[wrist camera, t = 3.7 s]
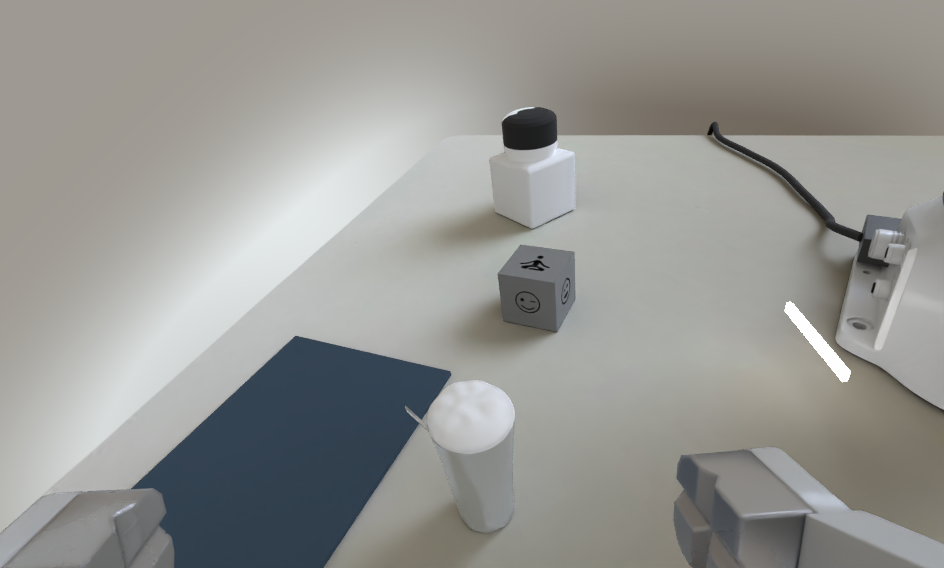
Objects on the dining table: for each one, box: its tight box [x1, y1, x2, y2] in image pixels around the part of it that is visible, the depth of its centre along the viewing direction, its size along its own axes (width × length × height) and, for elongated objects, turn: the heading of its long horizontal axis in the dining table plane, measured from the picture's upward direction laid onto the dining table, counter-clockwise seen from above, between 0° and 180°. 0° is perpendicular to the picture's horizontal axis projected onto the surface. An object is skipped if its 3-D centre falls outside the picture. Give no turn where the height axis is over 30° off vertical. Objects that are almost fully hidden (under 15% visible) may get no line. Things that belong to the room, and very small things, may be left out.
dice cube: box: [498, 245, 575, 332], centre depth 46 cm, size 5×5×5 cm
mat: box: [131, 336, 451, 568], centre depth 37 cm, size 20×16×1 cm
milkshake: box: [405, 380, 515, 533], centre depth 29 cm, size 4×5×10 cm
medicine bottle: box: [489, 107, 575, 229], centre depth 61 cm, size 7×7×12 cm
